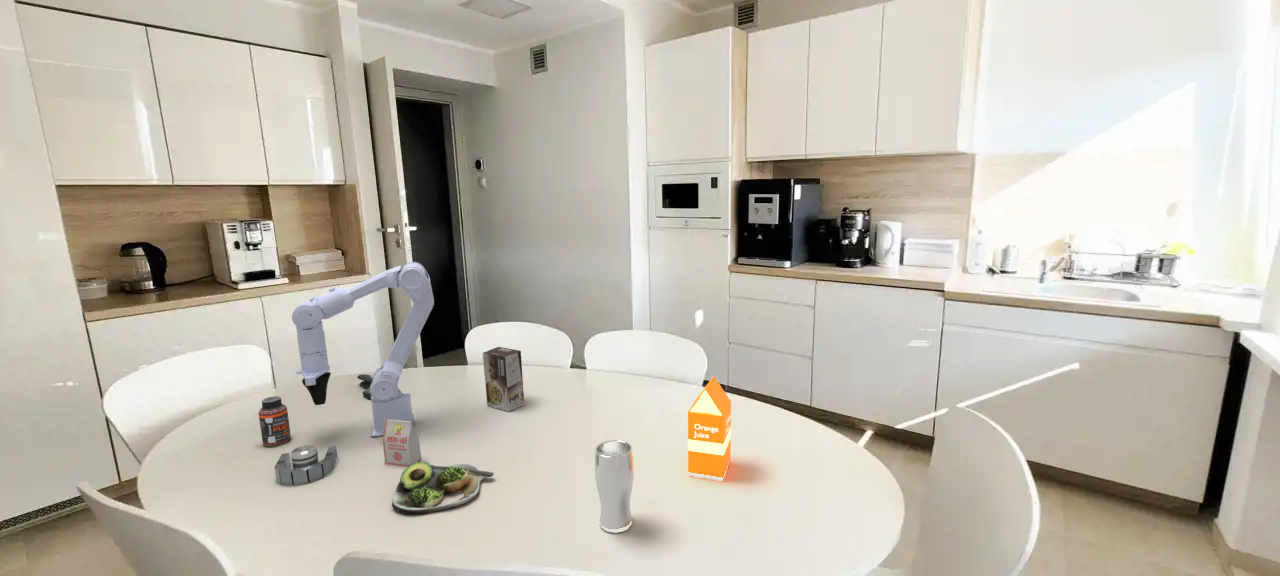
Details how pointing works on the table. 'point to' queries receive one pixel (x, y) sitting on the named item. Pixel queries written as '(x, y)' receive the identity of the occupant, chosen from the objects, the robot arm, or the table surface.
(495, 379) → the coffee box
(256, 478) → the table surface
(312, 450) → the cylinder
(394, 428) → the white paper bag
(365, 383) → the can opener
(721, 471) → the orange juice
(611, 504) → the beer glass
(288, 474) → the split ring collar
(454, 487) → the avocado toast plate
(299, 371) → the robot arm
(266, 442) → the supplement bottle
